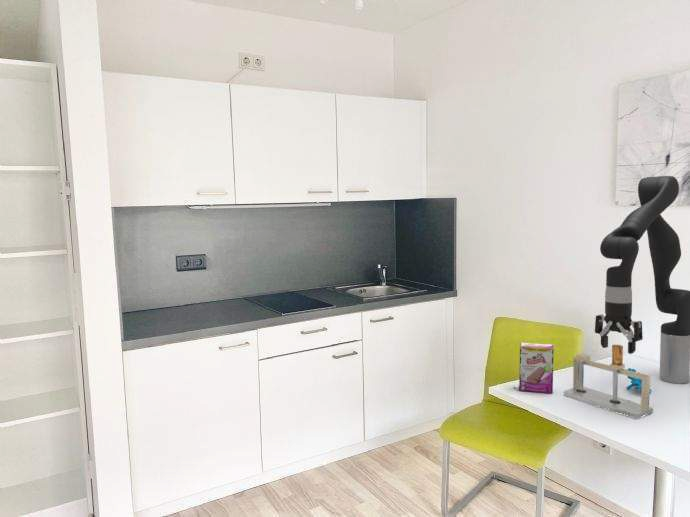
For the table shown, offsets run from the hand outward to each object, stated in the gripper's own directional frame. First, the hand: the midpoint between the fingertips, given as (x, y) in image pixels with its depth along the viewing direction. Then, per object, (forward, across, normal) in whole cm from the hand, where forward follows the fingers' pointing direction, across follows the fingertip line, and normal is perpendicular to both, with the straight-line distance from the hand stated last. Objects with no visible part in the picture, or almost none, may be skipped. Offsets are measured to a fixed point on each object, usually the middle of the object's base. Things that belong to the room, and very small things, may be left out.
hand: (617, 350), depth 166 cm
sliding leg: (+16, 0, 0) cm, 16 cm away
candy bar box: (+18, +24, +9) cm, 32 cm away
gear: (+19, +3, -18) cm, 26 cm away
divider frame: (+18, +3, +1) cm, 19 cm away
